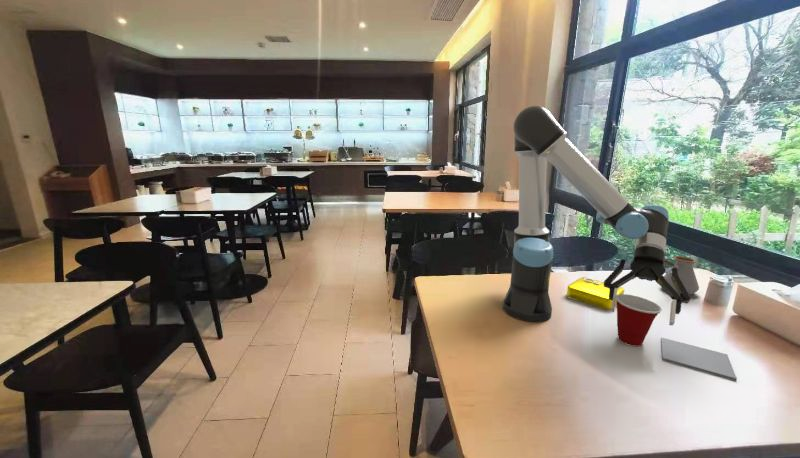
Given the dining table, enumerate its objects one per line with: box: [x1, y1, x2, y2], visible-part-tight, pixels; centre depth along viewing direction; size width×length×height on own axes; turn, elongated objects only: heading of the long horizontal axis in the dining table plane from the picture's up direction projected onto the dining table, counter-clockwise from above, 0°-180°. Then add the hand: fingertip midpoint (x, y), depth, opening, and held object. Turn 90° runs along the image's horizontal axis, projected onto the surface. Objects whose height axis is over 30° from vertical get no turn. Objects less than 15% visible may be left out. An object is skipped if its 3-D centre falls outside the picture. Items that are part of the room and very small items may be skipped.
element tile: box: [566, 276, 625, 310], centre depth 126 cm, size 15×15×5 cm
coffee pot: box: [663, 256, 700, 296], centre depth 129 cm, size 21×12×15 cm, turn 116°
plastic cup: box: [615, 293, 663, 347], centre depth 97 cm, size 11×11×12 cm
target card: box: [660, 337, 737, 381], centre depth 90 cm, size 14×12×1 cm
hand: (641, 316), depth 96 cm, fingers open, 13 cm apart
